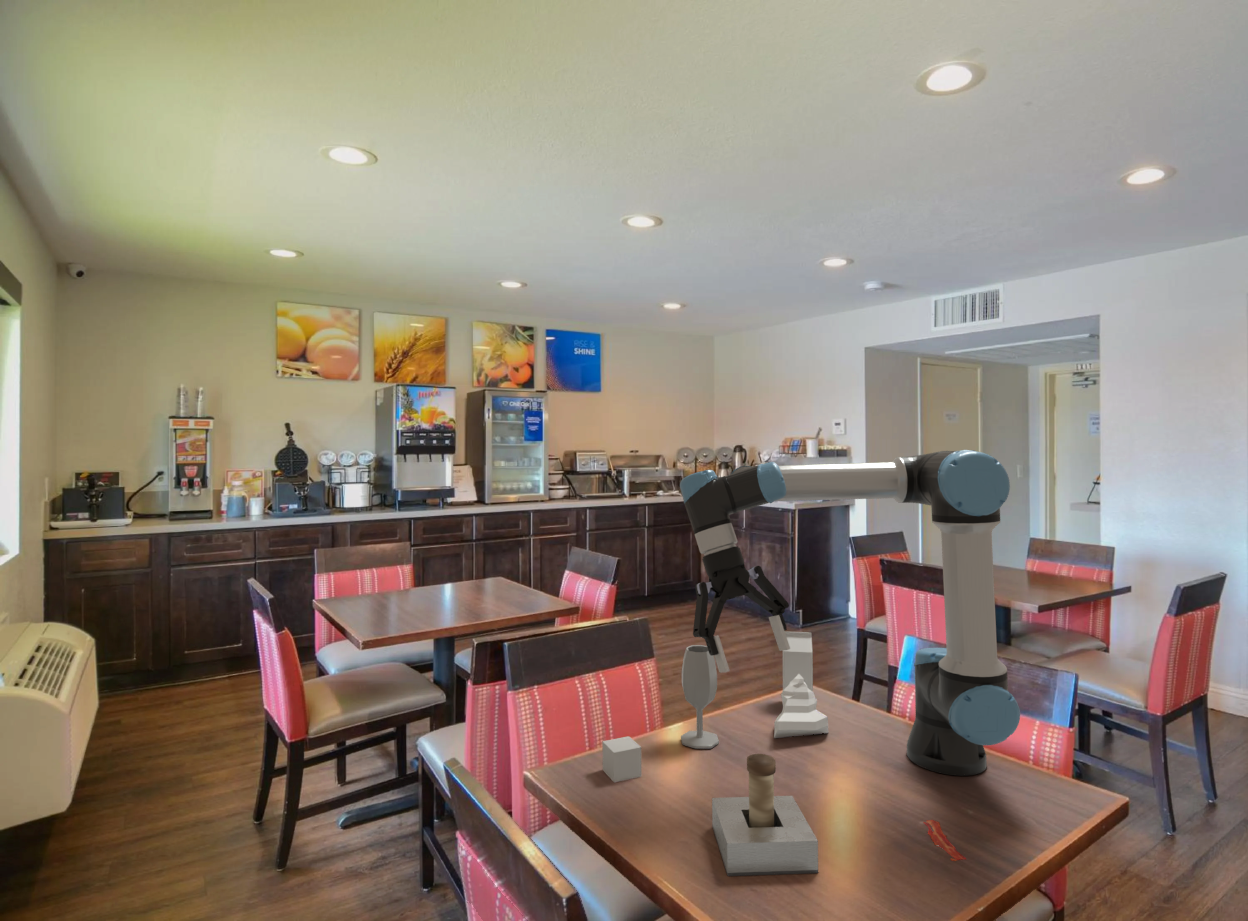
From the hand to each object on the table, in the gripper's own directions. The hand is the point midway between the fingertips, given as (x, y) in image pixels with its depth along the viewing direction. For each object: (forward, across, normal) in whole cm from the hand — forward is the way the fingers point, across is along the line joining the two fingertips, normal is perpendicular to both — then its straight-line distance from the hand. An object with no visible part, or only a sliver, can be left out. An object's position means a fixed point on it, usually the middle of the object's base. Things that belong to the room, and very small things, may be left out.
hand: (755, 660), depth 127 cm
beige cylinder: (+27, +12, +5) cm, 30 cm away
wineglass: (+17, +1, -34) cm, 38 cm away
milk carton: (+20, -32, -44) cm, 58 cm away
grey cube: (+15, +22, -27) cm, 38 cm away
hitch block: (+27, +12, +5) cm, 30 cm away
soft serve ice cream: (+22, -21, -30) cm, 43 cm away
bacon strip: (+35, -16, +12) cm, 41 cm away
